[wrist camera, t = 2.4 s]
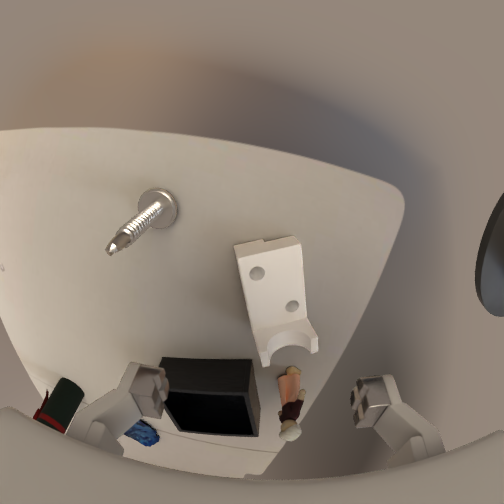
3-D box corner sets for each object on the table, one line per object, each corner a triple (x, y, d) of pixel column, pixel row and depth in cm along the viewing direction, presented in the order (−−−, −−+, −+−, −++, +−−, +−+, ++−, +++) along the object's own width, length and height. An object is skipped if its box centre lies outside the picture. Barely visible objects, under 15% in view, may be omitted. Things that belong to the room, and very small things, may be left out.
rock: (103, 419, 62) (101, 424, 60) (133, 411, 57) (131, 417, 55) (142, 443, 67) (140, 448, 65) (176, 438, 61) (175, 443, 60)
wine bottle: (50, 370, 54) (1, 453, 27) (80, 385, 55) (34, 477, 28) (58, 386, 58) (15, 464, 31) (87, 400, 58) (47, 486, 31)
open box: (251, 359, 43) (248, 392, 37) (260, 408, 50) (258, 437, 44) (162, 356, 45) (150, 386, 39) (186, 405, 52) (179, 431, 46)
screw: (141, 214, 33) (150, 179, 31) (176, 227, 34) (186, 191, 32) (84, 265, 22) (88, 216, 20) (130, 285, 22) (138, 236, 20)
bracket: (299, 316, 40) (318, 351, 33) (251, 329, 39) (262, 367, 32) (291, 232, 34) (314, 259, 27) (233, 245, 33) (243, 276, 26)
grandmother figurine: (284, 360, 43) (284, 428, 31) (307, 364, 43) (311, 430, 31) (272, 387, 46) (269, 448, 35) (292, 390, 46) (293, 450, 35)
